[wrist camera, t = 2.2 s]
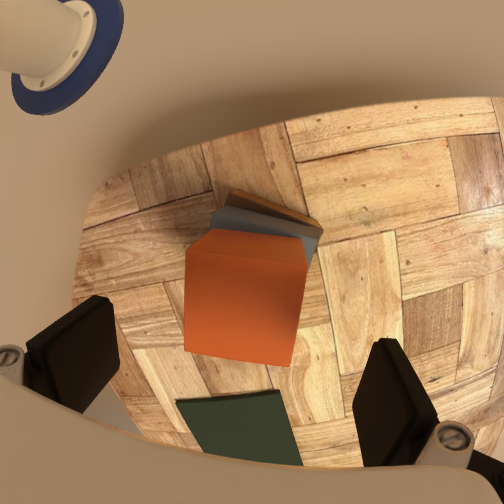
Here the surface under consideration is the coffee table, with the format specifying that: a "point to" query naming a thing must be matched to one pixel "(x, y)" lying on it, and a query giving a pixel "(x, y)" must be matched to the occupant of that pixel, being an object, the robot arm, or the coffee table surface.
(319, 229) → the bottom block
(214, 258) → the top cube
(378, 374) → the robot arm
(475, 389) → the coffee table surface
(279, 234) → the middle block
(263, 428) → the mat
